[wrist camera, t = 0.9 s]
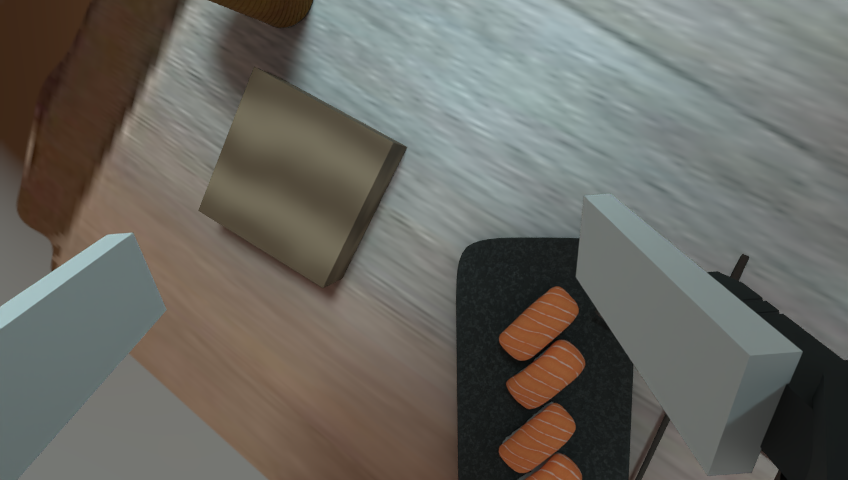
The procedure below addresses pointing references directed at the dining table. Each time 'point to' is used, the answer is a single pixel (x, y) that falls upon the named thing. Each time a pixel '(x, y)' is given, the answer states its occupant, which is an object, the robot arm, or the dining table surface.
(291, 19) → the disposable coffee cup
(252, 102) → the walnut base
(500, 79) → the dining table surface
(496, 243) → the sushi plate
